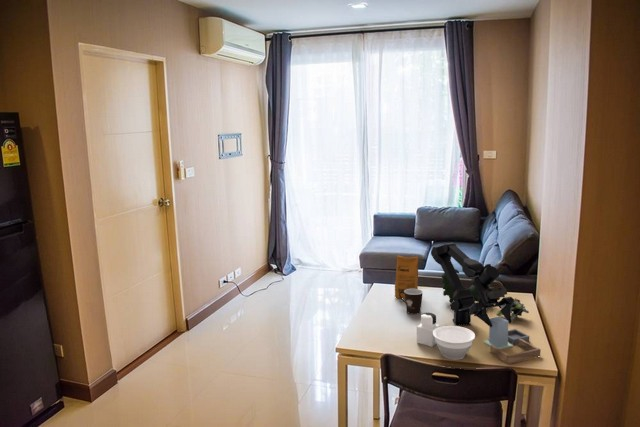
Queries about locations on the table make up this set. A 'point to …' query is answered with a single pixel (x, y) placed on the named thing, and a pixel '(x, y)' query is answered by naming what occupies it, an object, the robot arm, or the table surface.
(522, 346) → the brown wooden tray
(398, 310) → the table surface
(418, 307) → the coffee mug
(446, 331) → the bowl
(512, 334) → the trap tray
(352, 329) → the table surface
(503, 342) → the block
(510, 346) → the pad
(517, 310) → the green leafy cluster
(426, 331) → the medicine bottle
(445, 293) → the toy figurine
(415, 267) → the coffee package
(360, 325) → the table surface
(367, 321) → the table surface
